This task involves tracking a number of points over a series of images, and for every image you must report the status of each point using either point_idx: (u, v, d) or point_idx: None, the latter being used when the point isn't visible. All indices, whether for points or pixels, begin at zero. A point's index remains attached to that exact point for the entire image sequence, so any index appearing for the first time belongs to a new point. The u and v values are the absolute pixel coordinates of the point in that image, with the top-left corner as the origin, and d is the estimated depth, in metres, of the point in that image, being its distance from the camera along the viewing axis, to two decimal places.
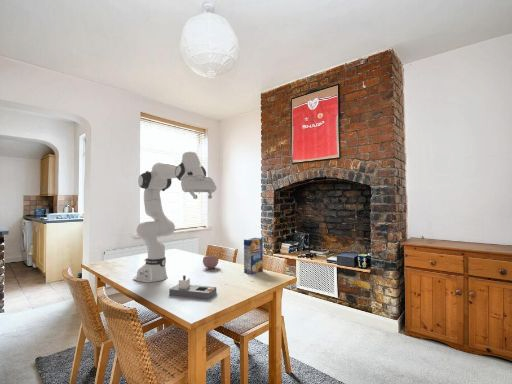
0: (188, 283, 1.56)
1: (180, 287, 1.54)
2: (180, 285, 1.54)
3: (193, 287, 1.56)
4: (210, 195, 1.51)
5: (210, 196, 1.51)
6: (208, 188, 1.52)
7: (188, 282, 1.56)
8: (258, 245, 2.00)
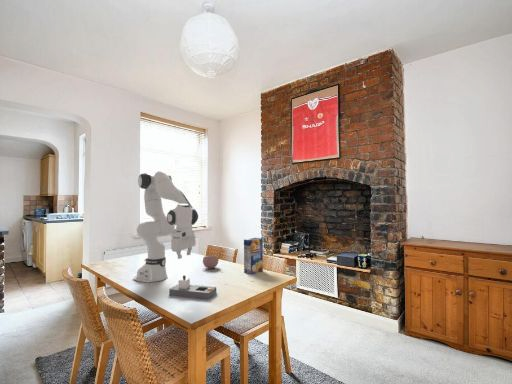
0: (188, 283, 1.56)
1: (180, 287, 1.54)
2: (180, 285, 1.54)
3: (193, 287, 1.56)
4: (189, 252, 1.60)
5: (189, 254, 1.60)
6: (190, 246, 1.60)
7: (188, 282, 1.56)
8: (258, 245, 2.01)
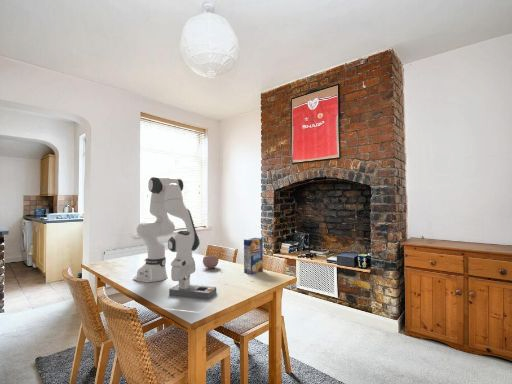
0: (188, 283, 1.56)
1: (180, 287, 1.54)
2: None
3: (193, 287, 1.56)
4: None
5: None
6: (190, 273, 1.59)
7: (188, 282, 1.56)
8: (258, 245, 2.01)
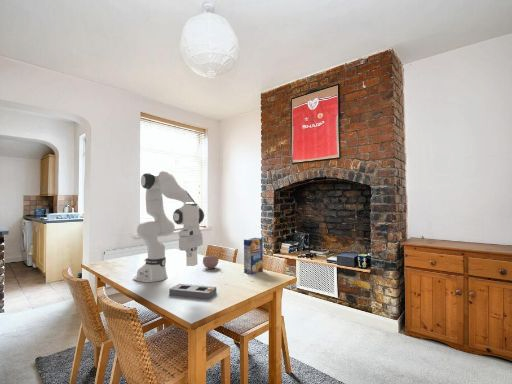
0: (196, 254, 1.54)
1: (188, 258, 1.53)
2: None
3: (193, 287, 1.56)
4: None
5: None
6: (198, 245, 1.58)
7: (196, 253, 1.54)
8: (258, 245, 2.01)
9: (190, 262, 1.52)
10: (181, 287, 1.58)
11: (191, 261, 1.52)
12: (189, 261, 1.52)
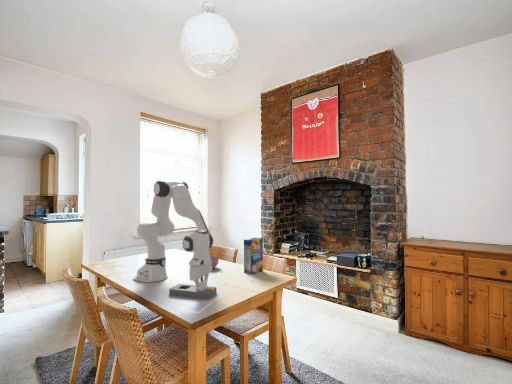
0: (206, 285, 1.53)
1: (198, 289, 1.51)
2: (198, 287, 1.51)
3: (193, 287, 1.56)
4: (207, 279, 1.57)
5: None
6: (207, 272, 1.56)
7: (206, 283, 1.53)
8: (258, 245, 2.01)
9: None
10: (181, 287, 1.58)
11: None
12: None
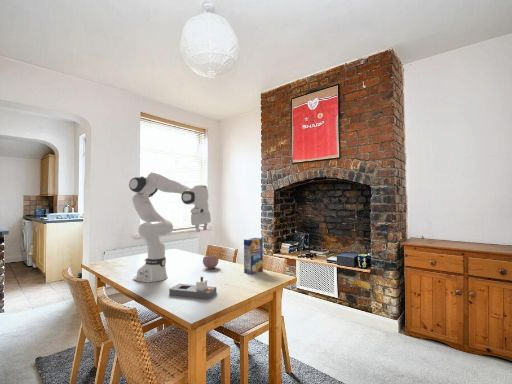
0: (206, 285, 1.53)
1: (198, 289, 1.51)
2: (198, 287, 1.51)
3: (193, 287, 1.56)
4: (206, 228, 1.82)
5: (205, 229, 1.82)
6: (206, 222, 1.81)
7: (206, 283, 1.53)
8: (258, 245, 2.01)
9: None
10: (181, 287, 1.58)
11: None
12: None
